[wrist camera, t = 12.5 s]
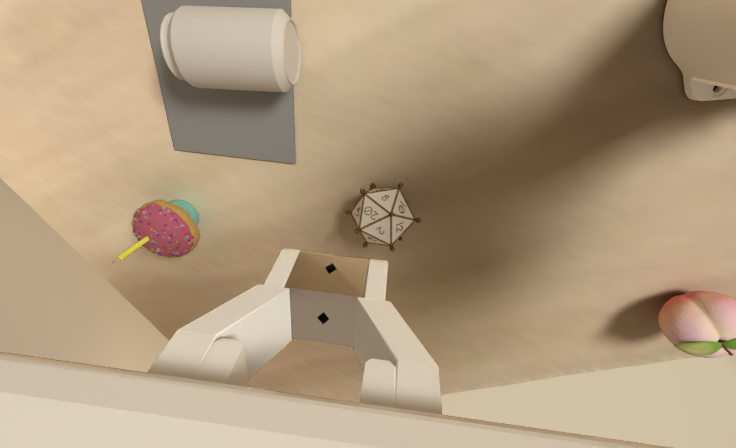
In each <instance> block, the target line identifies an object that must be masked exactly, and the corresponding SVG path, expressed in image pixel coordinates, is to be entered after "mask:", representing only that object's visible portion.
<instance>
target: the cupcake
mask: <svg viewBox="0 0 736 448" xmlns="http://www.w3.org/2000/svg"><path fill="white" fill-rule="evenodd" d="M132 222H133V223H132V224H133V225H132V226H133V232H132V233H135V236H136V237H137V239H138V241H139V242H137V243H136V244H134V245H133V246H132V247H130V248H129V249H127V250H126V251H124V252H123V253H122V254H120V255H119V256H117V259H116V260H114V261H113V262H112V263H115V262H116V261H118V260H120V261H121V260H123V259H124V258H126V257H127V256H128V255H130V254H131V253H133V252H134V251H135V250H137V249H138V248H139V247H141V246H144V247H145V248H147V249H148V250H149V251H152V252H153V253H156V254H157V255H161V256H163V257H165V256H166V257H169V258H170V257H179V256H182V255H185V254H187V253H188V252H190V251H191V250H192V249H193V248H194V247H195V246H196V245H197V243H198V241H199V238H200V233H199V230H198V228H197V225H198V222H199V215H198V212H197V211H196V209H195V208H194V207H193V206H192V205H191V204H189V203H188V202H185V201H182V200H173V201H170V202H166V201H163V200H155V201H152V202H149V203H147V204H145V205H143V206H142V207H141V208H139V209H137V211H136V212H135V214H134V215H133V221H132Z"/></svg>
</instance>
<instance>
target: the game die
mask: <svg viewBox="0 0 736 448" xmlns="http://www.w3.org/2000/svg"><path fill="white" fill-rule="evenodd" d="M402 186H403V182H401V183H399V185H398V188H375V187H376V186H375V185H374V184H373V183H372V185H371V187H372V188H373V189H372V190H370V191H368V192H366V193H365V191H364V189H360V192H361V194H363V195H362V197H361V198H360V200H359V201H358V202H357V204H356V205H355V207H354V208H353V210H352V211H350V210H347V211H345V212H346V213H347V214H351V215H352V217H353V219H354V221H355V223H356V225H357V227H358V229H355V231H354V233H356V234H357V233H359V232H360V233H361V235H362V236H363V238H364V240H365V241H366V242H364V244H363V248H364V247H367V245H368V243H373V244H380V245H388V246H390V250H391V251H392V252H393V251H394V247H393V244H394V243H395V242H396V241H397V240H398V239H399V240H402V237H401V235H402V234H403V233H404V232H405V231H406V230H407V229H408V228H409V227H410V226H411V225H412V223H413V222H414V221H416V222H418V223H419V222H421V221H422V220H421V219H420V218H416V219H415V218H414V216H413V214H412V212H411V210H410V208H409V206H408V204H407V201H406V200H405V198H404V196H403V194H402V192H401V190H400V188H402Z"/></svg>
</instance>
